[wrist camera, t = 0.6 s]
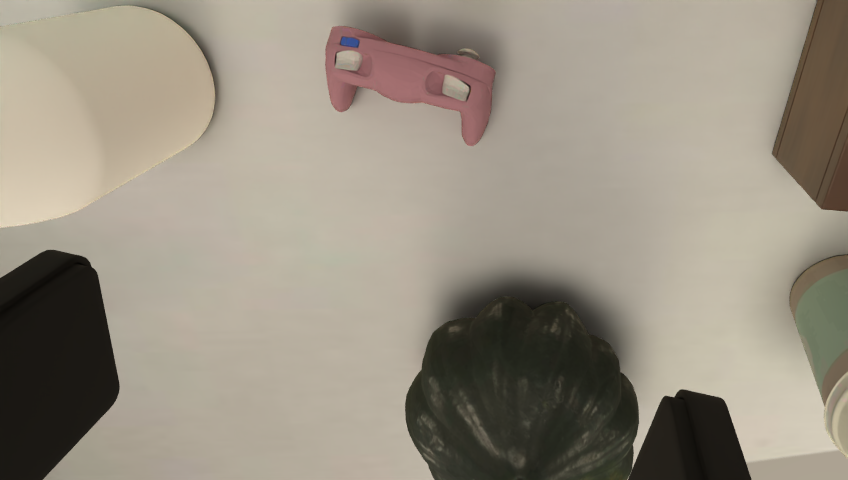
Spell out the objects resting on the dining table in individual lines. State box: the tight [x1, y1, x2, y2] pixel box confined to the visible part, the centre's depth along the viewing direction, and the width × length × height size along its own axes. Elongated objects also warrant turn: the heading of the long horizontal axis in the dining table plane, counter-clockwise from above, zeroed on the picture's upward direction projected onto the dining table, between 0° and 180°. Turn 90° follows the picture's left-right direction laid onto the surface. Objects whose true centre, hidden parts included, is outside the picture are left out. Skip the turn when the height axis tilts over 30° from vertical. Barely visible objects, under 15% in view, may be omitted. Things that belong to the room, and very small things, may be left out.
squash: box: [405, 296, 639, 480], centre depth 38 cm, size 14×15×15 cm
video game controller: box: [325, 26, 496, 146], centre depth 33 cm, size 10×5×7 cm, turn 79°
